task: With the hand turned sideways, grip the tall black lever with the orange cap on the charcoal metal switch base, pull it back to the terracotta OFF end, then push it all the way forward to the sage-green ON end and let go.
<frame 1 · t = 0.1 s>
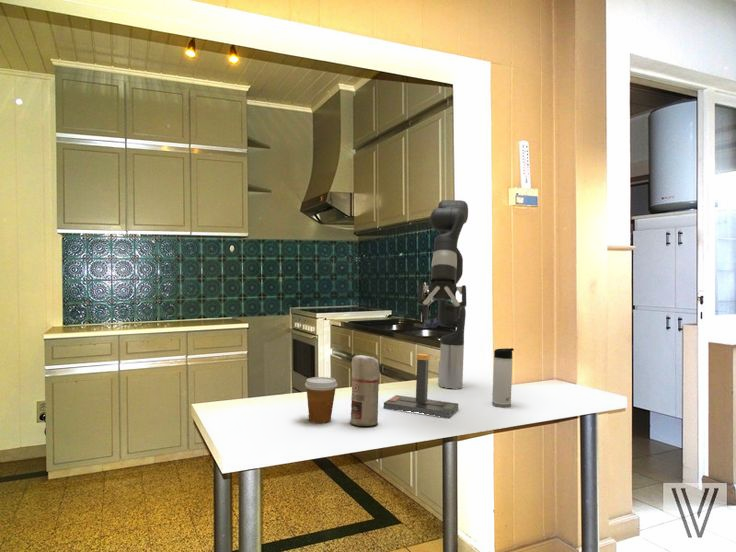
hand: (440, 319, 143), 31 cm above the table, tool tilted 20°, fingers open, 8 cm apart
switch base: (421, 409, 163), on the table
disposable coffee cup: (319, 421, 146), on the table
lever: (422, 378, 163), point 10 cm above the table, slide at 6.0 cm
travel mug: (501, 406, 171), on the table
spray can: (363, 424, 144), on the table
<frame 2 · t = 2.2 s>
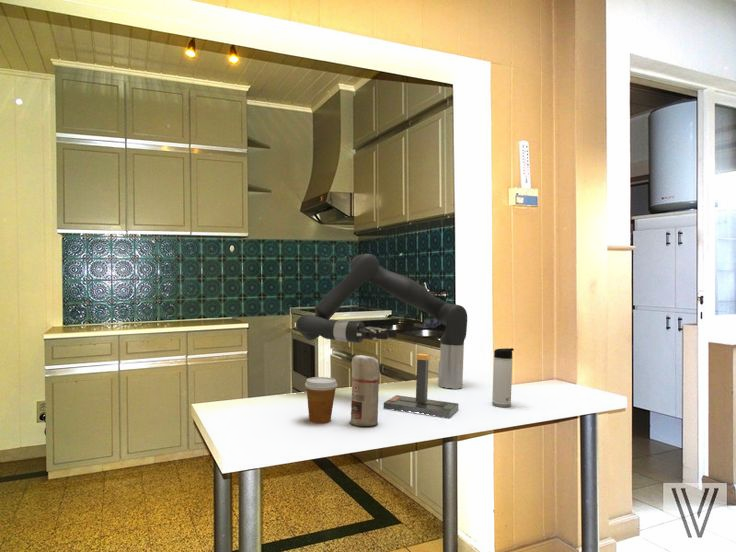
hand: (392, 335, 167), 24 cm above the table, tool horizontal, fingers open, 8 cm apart
nothing on the table moved.
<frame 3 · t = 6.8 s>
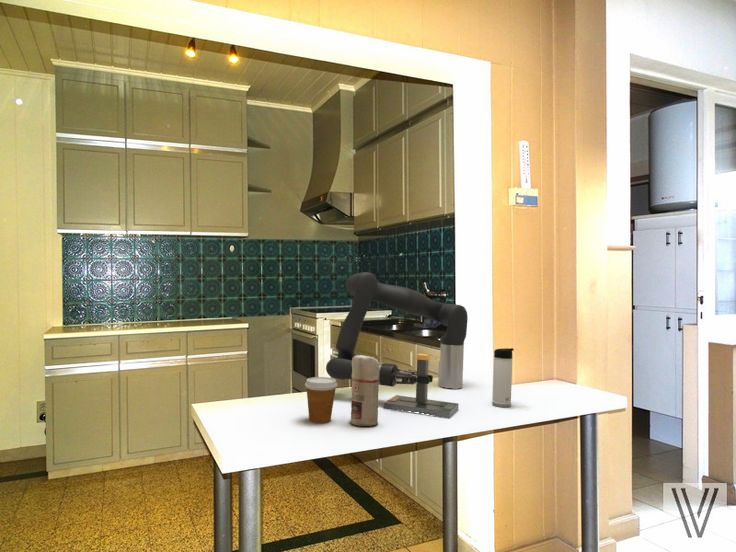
hand: (430, 379, 161), 10 cm above the table, tool horizontal, fingers closed on lever, 3 cm apart
lever: (422, 378, 163), point 10 cm above the table, slide at 6.0 cm, touching gripper
everything else where it was.
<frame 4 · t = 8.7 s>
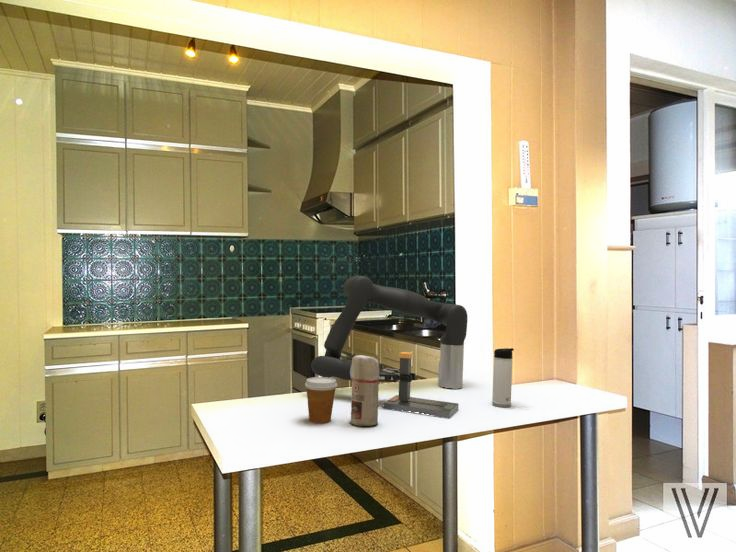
hand: (413, 377, 164), 10 cm above the table, tool horizontal, fingers closed on lever, 3 cm apart
lever: (405, 376, 165), point 10 cm above the table, slide at 0.0 cm, touching gripper
everything else where it was.
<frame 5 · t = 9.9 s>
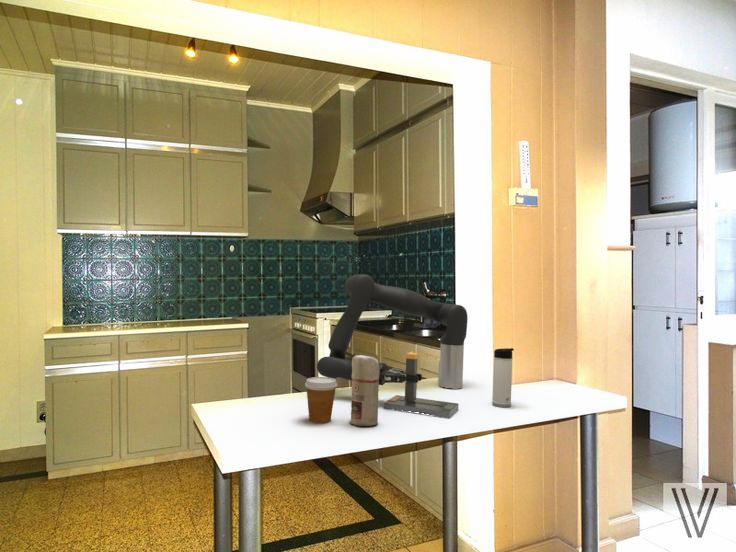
hand: (419, 378, 163), 10 cm above the table, tool horizontal, fingers closed on lever, 3 cm apart
lever: (411, 376, 164), point 10 cm above the table, slide at 2.2 cm, touching gripper
everything else where it was.
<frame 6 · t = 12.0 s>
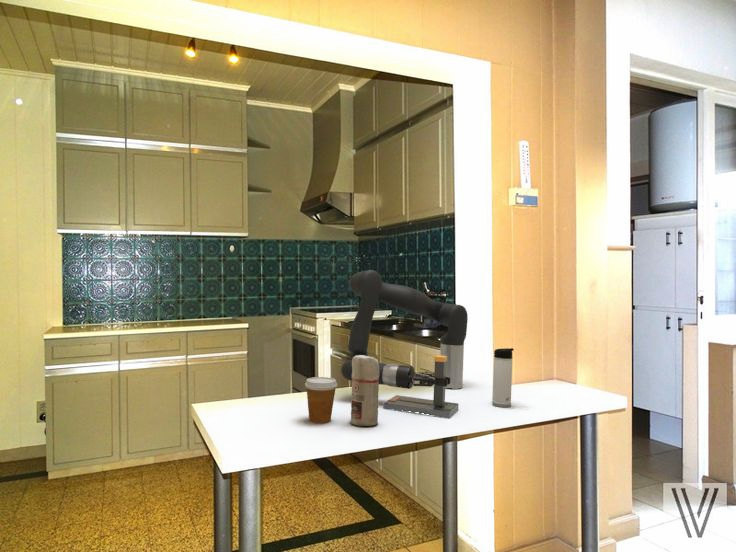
hand: (448, 381, 159), 10 cm above the table, tool horizontal, fingers closed on lever, 3 cm apart
lever: (439, 380, 160), point 10 cm above the table, slide at 12.0 cm, touching gripper
everything else where it was.
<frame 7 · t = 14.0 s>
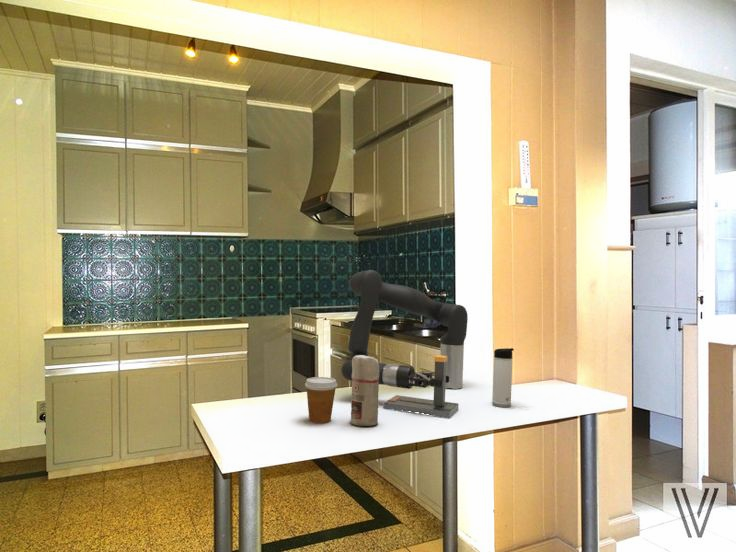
hand: (445, 381, 159), 10 cm above the table, tool horizontal, fingers open, 8 cm apart
lever: (440, 380, 160), point 10 cm above the table, slide at 12.0 cm
everything else where it was.
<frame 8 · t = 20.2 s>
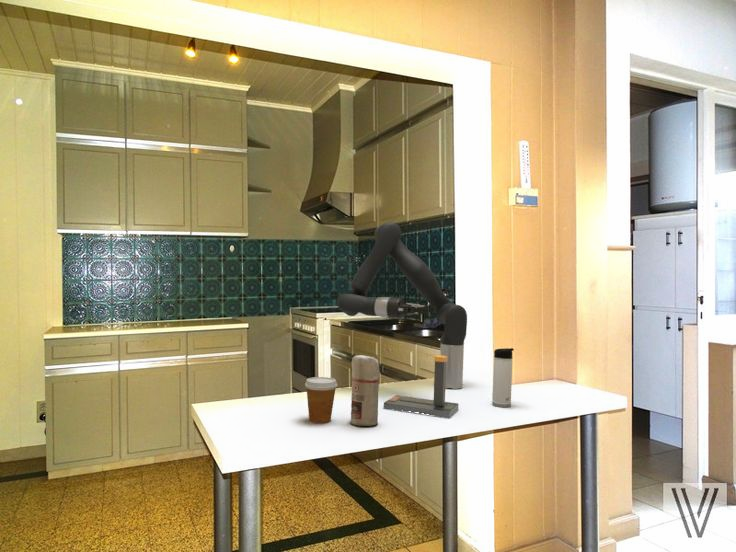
hand: (431, 310, 175), 32 cm above the table, tool horizontal, fingers open, 8 cm apart
nothing on the table moved.
at the end: lever slide at 12.0 cm; the gripper is holding nothing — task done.
